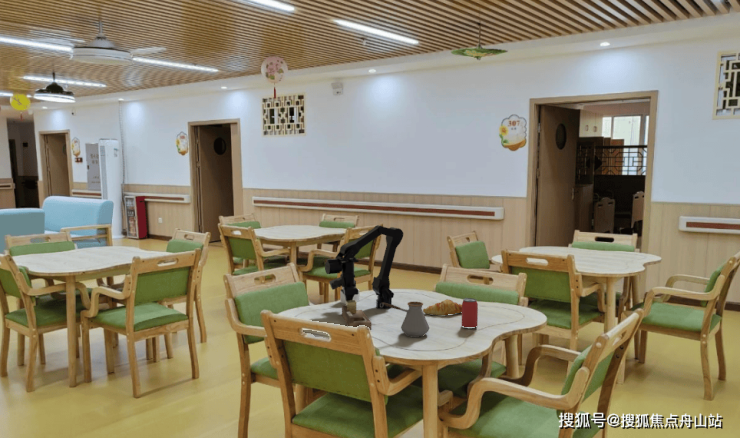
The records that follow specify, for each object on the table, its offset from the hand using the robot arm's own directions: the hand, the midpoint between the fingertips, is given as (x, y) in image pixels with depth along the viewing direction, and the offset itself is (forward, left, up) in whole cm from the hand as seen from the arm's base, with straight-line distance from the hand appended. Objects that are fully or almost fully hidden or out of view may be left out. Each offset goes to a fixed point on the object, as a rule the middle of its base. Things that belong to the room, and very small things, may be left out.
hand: (348, 305), depth 257 cm
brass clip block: (0, +8, -1) cm, 8 cm away
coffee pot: (-16, +37, -4) cm, 40 cm away
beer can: (-46, +32, -4) cm, 56 cm away
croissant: (-44, +8, -4) cm, 45 cm away
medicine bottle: (-4, -18, -4) cm, 19 cm away
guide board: (-1, +15, -4) cm, 15 cm away
